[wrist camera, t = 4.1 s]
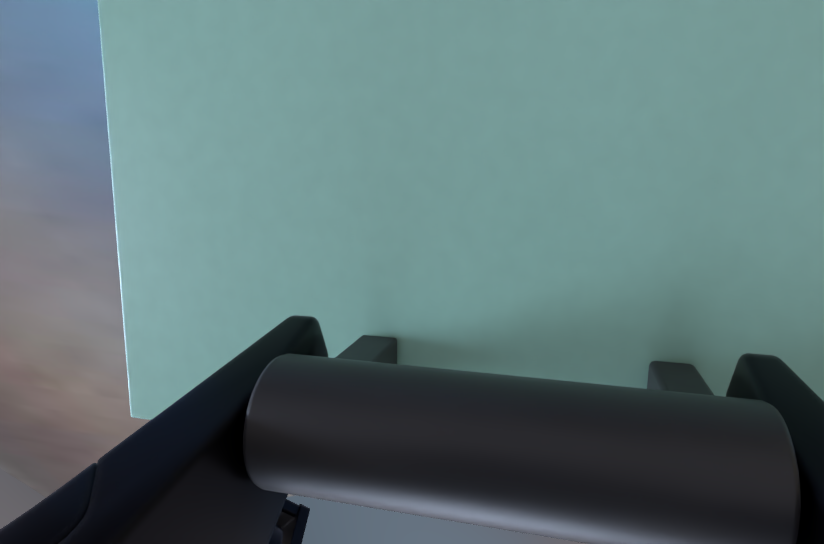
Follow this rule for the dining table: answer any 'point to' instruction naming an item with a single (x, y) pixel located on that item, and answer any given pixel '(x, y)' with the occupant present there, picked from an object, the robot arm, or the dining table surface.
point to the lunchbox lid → (483, 248)
